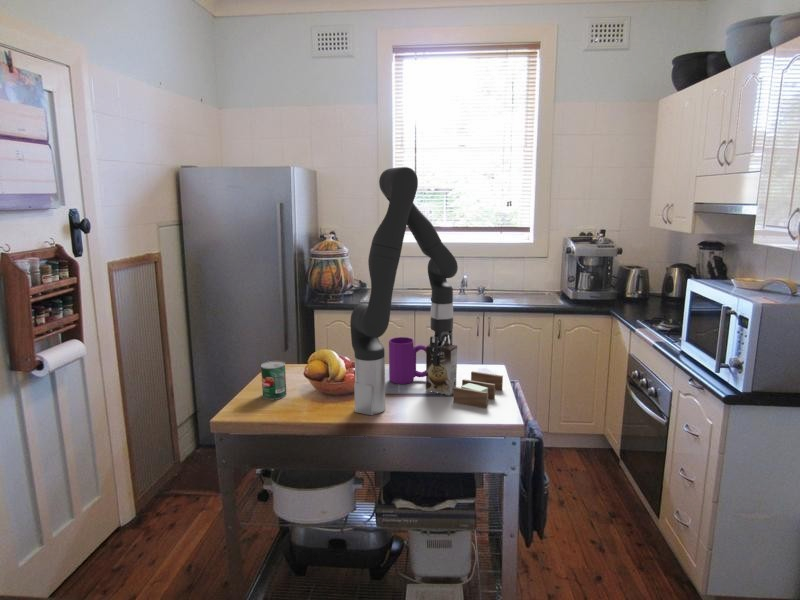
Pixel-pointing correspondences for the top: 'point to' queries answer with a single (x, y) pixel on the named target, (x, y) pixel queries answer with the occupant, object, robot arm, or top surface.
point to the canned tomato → (273, 380)
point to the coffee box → (442, 370)
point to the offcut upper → (475, 387)
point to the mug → (403, 360)
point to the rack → (476, 396)
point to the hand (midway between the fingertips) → (441, 362)
